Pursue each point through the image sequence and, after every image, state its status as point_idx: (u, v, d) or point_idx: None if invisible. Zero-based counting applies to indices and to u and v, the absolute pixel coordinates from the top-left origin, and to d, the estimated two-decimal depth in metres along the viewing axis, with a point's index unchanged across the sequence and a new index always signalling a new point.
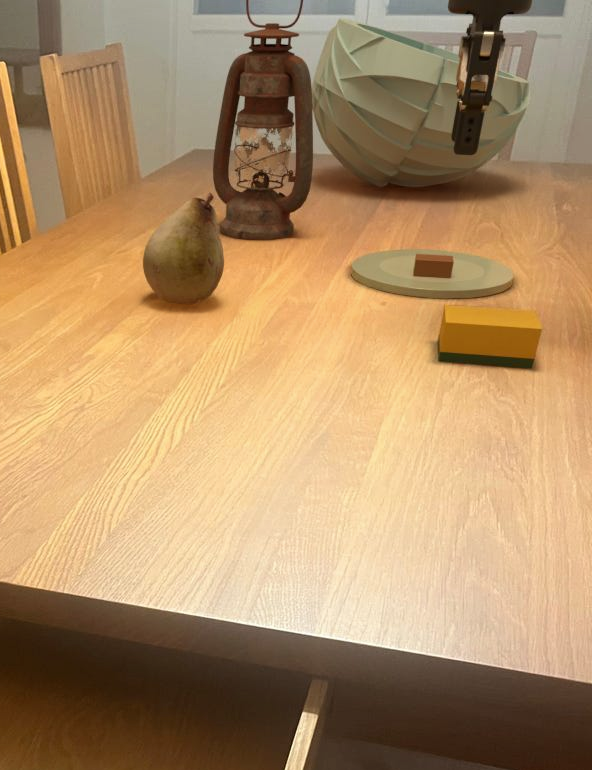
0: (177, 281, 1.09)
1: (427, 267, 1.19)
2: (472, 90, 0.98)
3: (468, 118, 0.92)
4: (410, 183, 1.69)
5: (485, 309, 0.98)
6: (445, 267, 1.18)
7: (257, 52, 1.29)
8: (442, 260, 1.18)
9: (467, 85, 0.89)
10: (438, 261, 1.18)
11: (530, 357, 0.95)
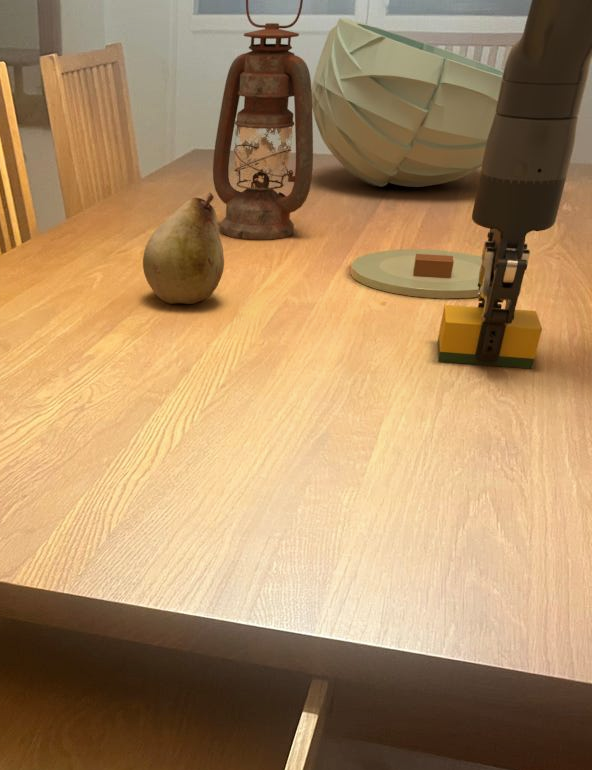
0: (177, 281, 1.09)
1: (427, 267, 1.19)
2: None
3: (490, 330, 0.93)
4: (410, 183, 1.69)
5: None
6: (445, 267, 1.18)
7: (257, 52, 1.29)
8: (442, 260, 1.18)
9: (489, 307, 0.90)
10: (438, 261, 1.18)
11: (530, 357, 0.95)
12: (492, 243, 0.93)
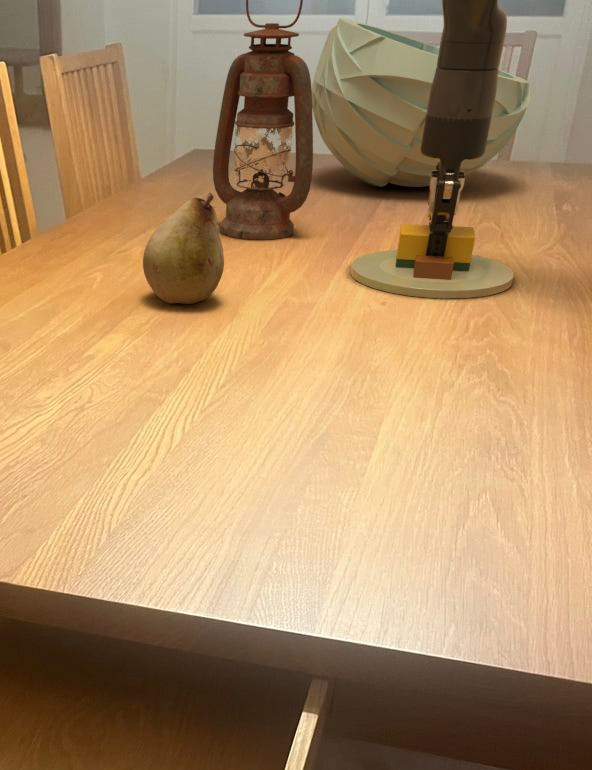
0: (177, 281, 1.09)
1: (427, 268, 1.18)
2: (440, 214, 1.24)
3: (435, 239, 1.19)
4: (410, 183, 1.69)
5: None
6: (446, 269, 1.18)
7: (257, 52, 1.29)
8: (442, 261, 1.18)
9: (433, 219, 1.16)
10: (438, 262, 1.17)
11: (467, 261, 1.21)
12: (437, 171, 1.19)
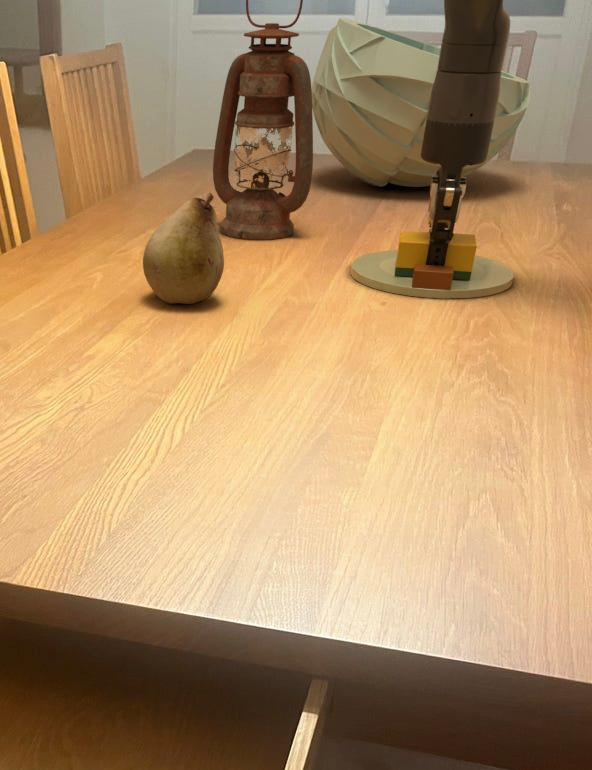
0: (177, 281, 1.09)
1: (426, 278, 1.15)
2: (441, 221, 1.20)
3: (436, 247, 1.15)
4: (410, 183, 1.69)
5: None
6: (445, 279, 1.14)
7: (257, 52, 1.29)
8: (442, 271, 1.14)
9: (433, 227, 1.12)
10: (437, 272, 1.14)
11: (468, 270, 1.17)
12: (438, 177, 1.16)
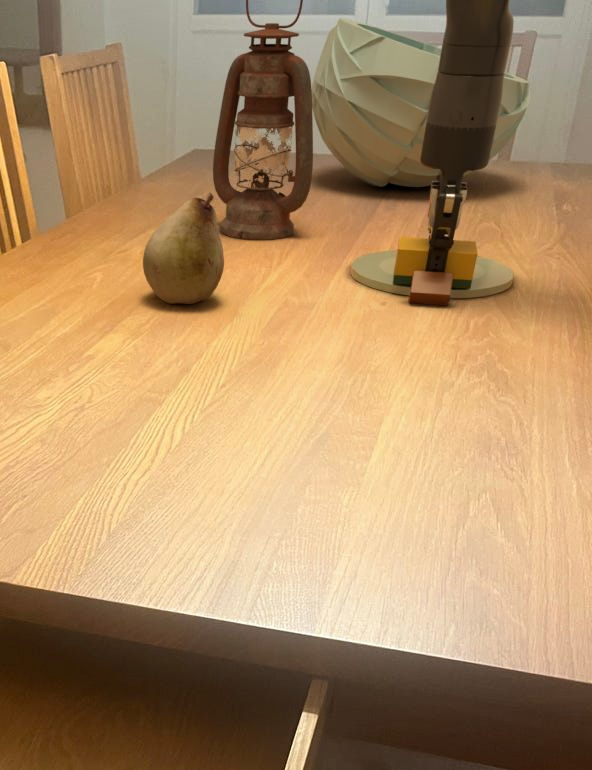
0: (177, 281, 1.09)
1: (422, 297, 1.12)
2: None
3: (435, 255, 1.12)
4: (410, 183, 1.69)
5: None
6: (442, 298, 1.12)
7: (257, 52, 1.29)
8: (439, 291, 1.11)
9: (433, 234, 1.09)
10: (434, 294, 1.11)
11: (468, 278, 1.13)
12: (438, 182, 1.12)
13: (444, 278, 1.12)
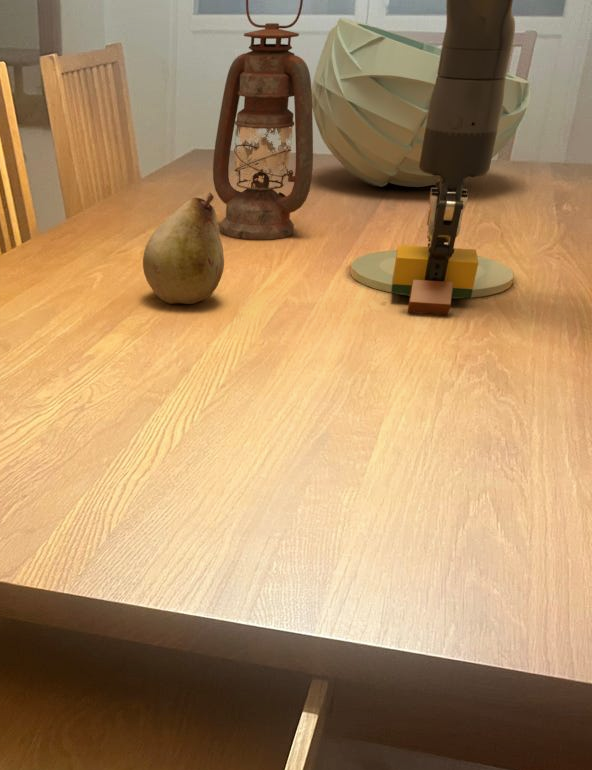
0: (177, 281, 1.09)
1: (422, 307, 1.09)
2: None
3: (435, 264, 1.09)
4: (410, 183, 1.69)
5: None
6: (442, 308, 1.09)
7: (257, 52, 1.29)
8: (439, 301, 1.08)
9: (433, 242, 1.06)
10: (434, 303, 1.08)
11: (469, 288, 1.10)
12: (437, 189, 1.09)
13: (444, 287, 1.09)
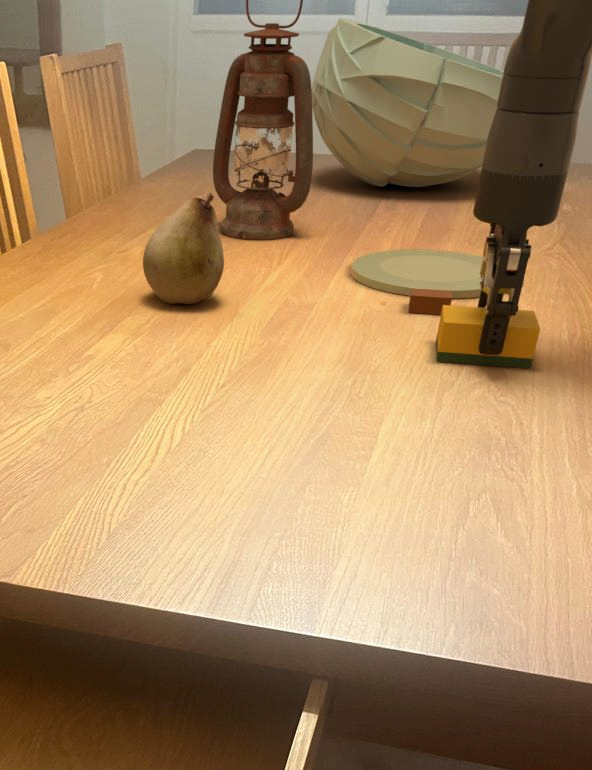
0: (177, 281, 1.09)
1: (423, 303, 1.10)
2: None
3: (494, 322, 0.92)
4: (410, 183, 1.69)
5: (483, 309, 0.98)
6: (443, 304, 1.09)
7: (257, 52, 1.29)
8: (440, 296, 1.09)
9: (493, 297, 0.89)
10: (435, 297, 1.09)
11: (528, 357, 0.95)
12: (493, 238, 0.93)
13: (443, 292, 1.10)
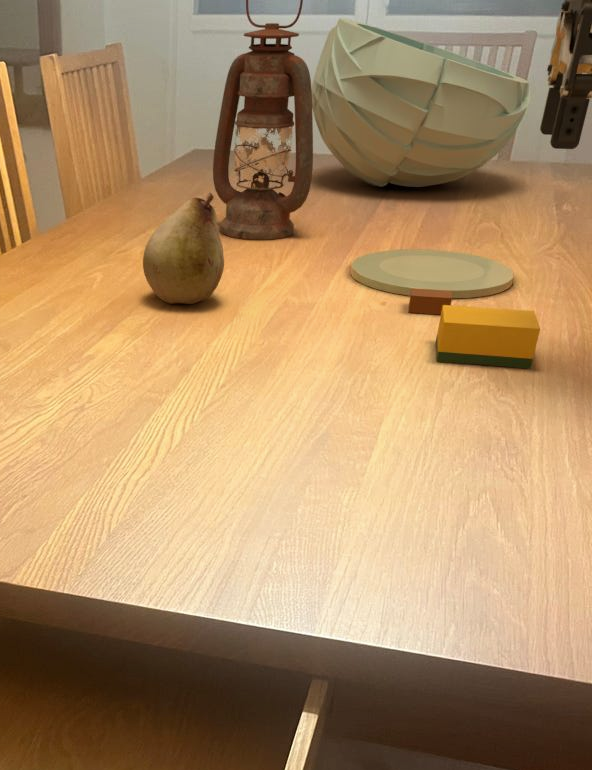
0: (177, 281, 1.09)
1: (423, 303, 1.10)
2: None
3: (571, 106, 0.79)
4: (410, 183, 1.69)
5: (483, 309, 0.98)
6: (443, 304, 1.09)
7: (257, 52, 1.29)
8: (440, 296, 1.09)
9: (573, 67, 0.76)
10: (435, 297, 1.09)
11: (528, 357, 0.95)
12: (569, 12, 0.80)
13: (443, 292, 1.10)
